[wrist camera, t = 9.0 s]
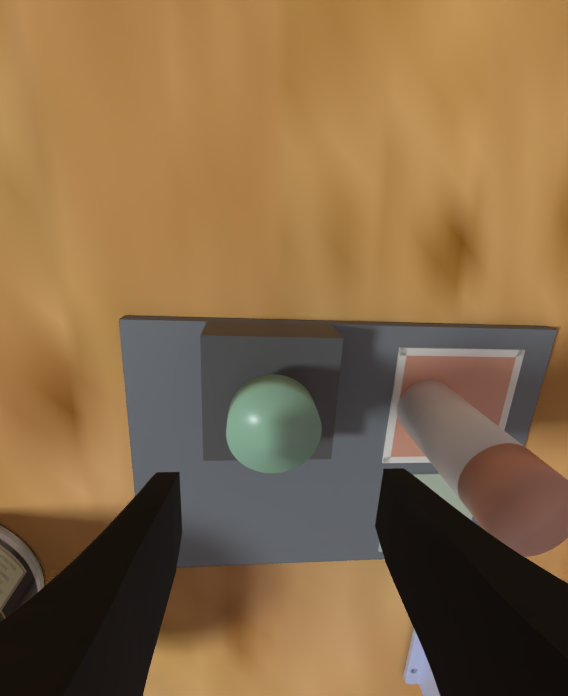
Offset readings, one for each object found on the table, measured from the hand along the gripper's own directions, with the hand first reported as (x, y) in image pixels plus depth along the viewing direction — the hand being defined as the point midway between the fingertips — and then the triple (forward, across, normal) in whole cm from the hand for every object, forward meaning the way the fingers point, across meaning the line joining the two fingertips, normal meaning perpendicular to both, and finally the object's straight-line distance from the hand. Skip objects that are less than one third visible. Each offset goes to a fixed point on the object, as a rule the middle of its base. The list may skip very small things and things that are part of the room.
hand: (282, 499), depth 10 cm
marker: (+8, -8, +1) cm, 12 cm away
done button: (+5, 0, 0) cm, 5 cm away
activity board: (+9, -4, +4) cm, 11 cm away
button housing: (+9, 0, 0) cm, 9 cm away
